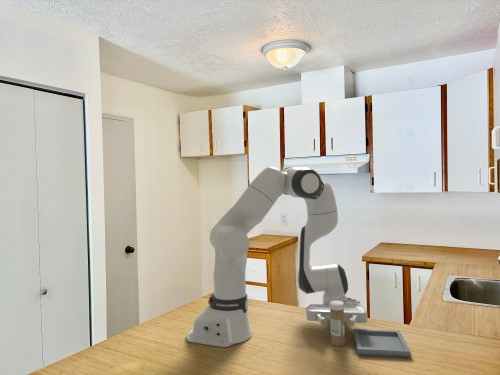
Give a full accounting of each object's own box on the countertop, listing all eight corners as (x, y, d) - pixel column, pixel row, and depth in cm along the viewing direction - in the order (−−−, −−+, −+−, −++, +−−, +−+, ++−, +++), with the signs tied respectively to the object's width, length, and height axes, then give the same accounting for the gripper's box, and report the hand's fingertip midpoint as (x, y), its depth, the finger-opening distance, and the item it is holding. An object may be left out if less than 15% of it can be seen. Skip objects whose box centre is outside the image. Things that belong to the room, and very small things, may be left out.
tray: (357, 355, 111) (357, 348, 111) (353, 334, 126) (353, 328, 126) (410, 358, 108) (410, 351, 108) (399, 336, 123) (399, 330, 123)
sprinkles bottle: (348, 344, 119) (347, 302, 118) (338, 348, 116) (337, 305, 116) (337, 339, 123) (336, 299, 122) (327, 342, 120) (326, 302, 120)
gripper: (305, 298, 134) (304, 311, 121) (364, 299, 131) (369, 314, 117) (306, 315, 135) (304, 330, 121) (364, 317, 131) (369, 333, 117)
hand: (337, 322), depth 119 cm, fingers open, 8 cm apart
